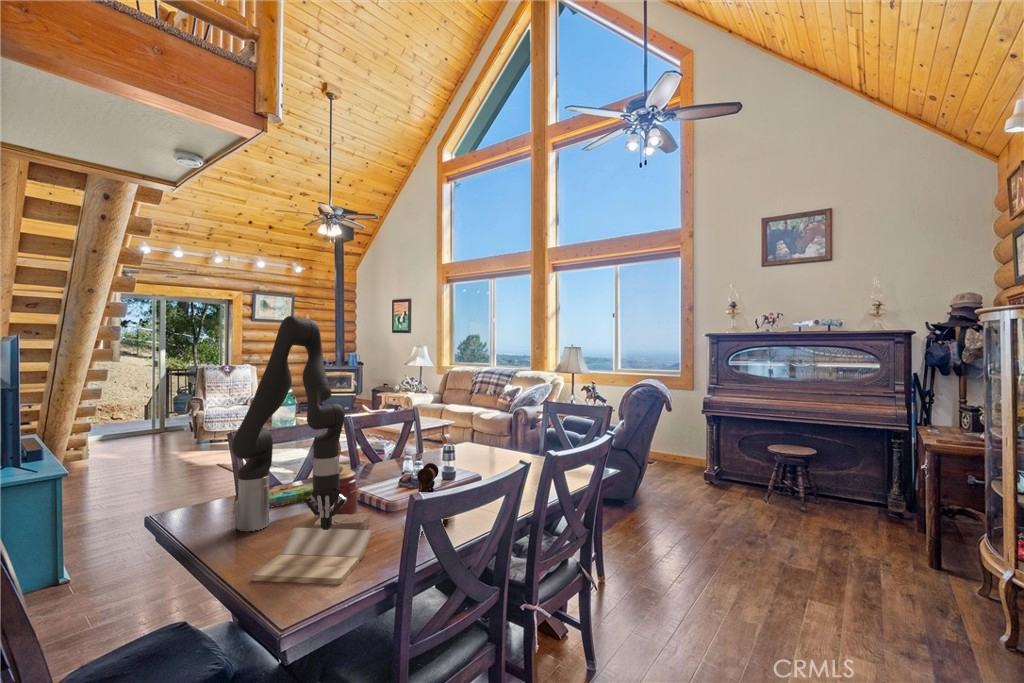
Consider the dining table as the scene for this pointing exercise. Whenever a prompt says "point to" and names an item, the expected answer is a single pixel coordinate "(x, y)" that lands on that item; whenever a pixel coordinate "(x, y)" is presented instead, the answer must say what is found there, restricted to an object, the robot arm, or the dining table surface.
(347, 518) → the brick
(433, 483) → the dark brown upright piece
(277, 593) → the dining table surface
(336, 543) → the ash plank
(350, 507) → the canister
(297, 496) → the puzzle game
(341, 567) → the oak floor boards
